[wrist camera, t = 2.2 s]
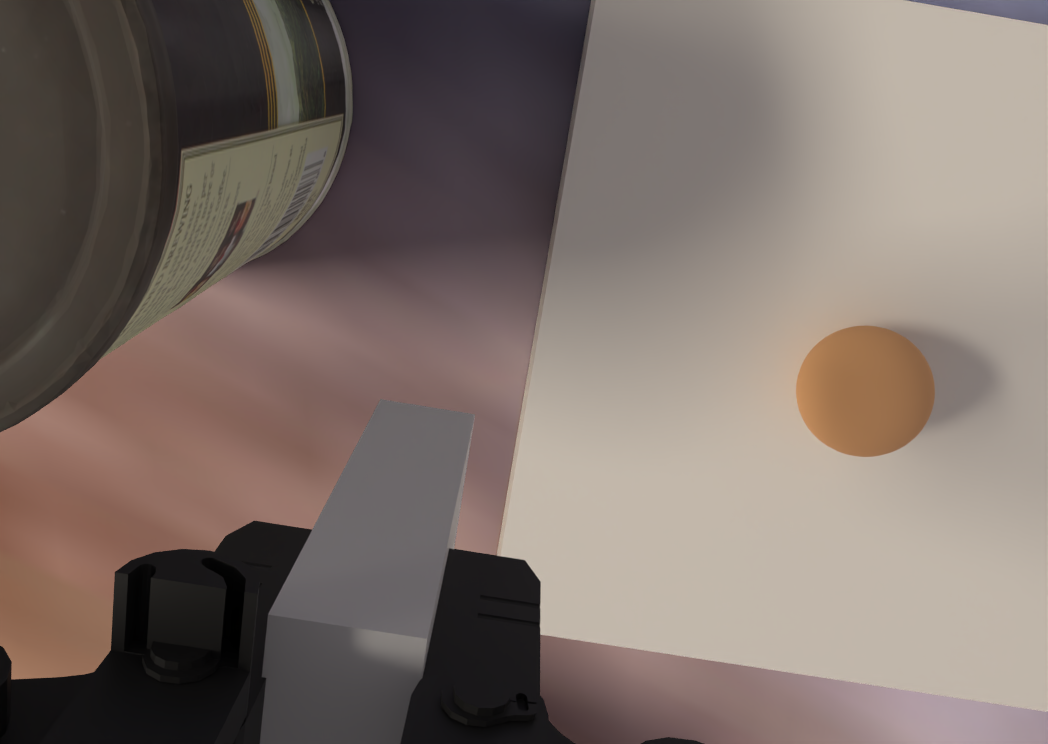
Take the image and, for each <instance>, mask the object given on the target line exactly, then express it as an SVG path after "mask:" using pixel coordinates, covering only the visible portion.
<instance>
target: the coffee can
mask: <svg viewBox="0 0 1048 744" xmlns="http://www.w3.org/2000/svg"><path fill="white" fill-rule="evenodd" d="M352 116H353V99H352V75H351V69H350V63H349V56H348V52H347V48H346V44H345V40H344V37H343V34H342V31H341V28H340V25H339V23H338V20H337V18H336V15H335V13H334V10H333V8H332V6H331V3H330V2H329V0H0V432H1V431H4V430H6V429H8V428H10V427H12V426H14V425H16V424H18V423H20V422H21V421H23V420H25V419H26V418H28V417H30V416H31V415H33V414H34V413H36V412H37V411H39V410H40V409H42V408H43V407H44V406H46V405H47V404H49V403H50V402H51V401H53V400H54V399H56V398H57V397H58V396H60V395H61V394H63V393H64V392H65V391H66V390H67V389H68V388H70V387H71V386H72V385H73V384H74V383H75V382H76V381H78V380H79V379H80V378H81V377H82V376H83V375H84V374H85V373H86V372H87V371H88V370H90V369H91V368H92V367H93V366H94V365H95V364H96V363H97V362H98V360H100V359H101V358H103V357H104V356H106V355H107V354H109V353H110V352H112V351H113V350H115V349H116V348H118V347H119V346H121V345H122V344H124V343H125V342H127V341H128V340H130V339H131V338H133V337H134V336H136V335H138V334H139V333H141V332H142V331H144V330H145V329H147V328H148V327H150V326H151V325H153V324H154V323H156V322H157V321H159V320H160V319H162V318H164V317H165V316H167V315H168V314H170V313H172V312H173V311H175V310H177V309H178V308H180V307H181V306H183V305H184V304H186V303H187V302H189V301H190V300H191V299H193V298H194V297H196V296H197V295H199V294H200V293H202V292H203V291H205V290H206V289H208V288H209V287H211V286H212V285H214V284H215V283H217V282H218V281H220V280H221V279H223V278H225V277H226V276H228V275H229V274H231V273H232V272H234V271H235V270H237V269H238V268H240V267H241V266H243V265H244V264H246V263H247V262H249V261H251V260H253V259H256V258H258V257H260V256H262V255H264V254H266V253H268V252H270V251H271V250H273V249H275V248H276V247H277V246H279V245H280V244H282V243H284V242H286V241H287V240H288V239H289V238H290V237H291V236H292V235H293V234H294V233H295V232H296V231H297V230H298V229H300V228H301V227H302V225H303V224H304V223H305V222H306V221H307V220H308V219H309V218H310V217H311V215H312V214H313V213H314V212H315V210H316V209H317V208H318V206H319V205H320V204H321V203H322V201H323V199H324V198H325V196H326V194H327V192H328V191H329V189H330V187H331V185H332V183H333V181H334V179H335V177H336V175H337V173H338V171H339V168H340V165H341V163H342V160H343V157H344V154H345V150H346V146H347V142H348V138H349V132H350V127H351V124H352Z"/></svg>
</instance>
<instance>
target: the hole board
mask: <svg viewBox="0 0 1048 744" xmlns="http://www.w3.org/2000/svg"><path fill="white" fill-rule="evenodd" d="M854 326H877V327H881V328H886V329H889V330H891V331H894V332H896V333H898V334H900V335H902V336H903V337H905V338H907V339H908V340H909V341H911V342H912V343H913V344H914V345H915V346H916V347H917V348H918V349H919V350H920V351H921V353H922V354H923V355H924V357H925V359H926V360H927V362H928V364H929V366H930V369H931V371H932V374H933V379H934V385H935V399H934V405H933V409H932V412H931V414H930V417H929V419H928V421H927V423H926V425H925V426H924V428H923V429H922V431H921V432H920V433H919V434H918V435H917V436H916V437H915V438H914V439H913V440H912V441H911V442H909V443H908V444H906V445H905V446H904V447H902V448H900V449H898V450H896V451H893V452H891V453H888V454H884V455H880V456H874V457H859V456H852V455H847V454H844V453H841V452H838V451H836V450H834V449H832V448H830V447H828V446H827V445H825V444H824V443H822V442H821V441H820V440H819V439H818V438H817V437H816V436H815V435H814V434H813V433H812V432H811V431H810V430H809V428H808V427H807V426H806V424H805V422H804V420H803V419H802V416H801V414H800V411H799V408H798V404H797V398H796V383H797V377H798V374H799V371H800V368H801V365H802V363H803V361H804V359H805V358H806V356H807V355H808V353H809V352H810V351H811V350H812V348H813V347H814V346H815V345H816V344H817V343H819V342H820V341H821V340H822V339H824V338H825V337H827V336H828V335H830V334H832V333H834V332H836V331H839V330H842V329H845V328H849V327H854ZM497 556H502V557H509V558H515V559H521V560H525V561H526V562H527V564H528V565H529V566H530V568H531V569H532V570H533V572H534V573H535V575H536V576H537V577H538V579H539V580H540V582H541V603H540V635H547V636H553V637H560V638H566V639H573V640H580V641H586V642H593V643H599V644H606V645H612V646H619V647H626V648H632V649H639V650H645V651H652V652H658V653H665V654H672V655H678V656H685V657H691V658H698V659H704V660H711V661H718V662H724V663H731V664H737V665H744V666H750V667H757V668H763V669H770V670H777V671H783V672H790V673H796V674H803V675H809V676H816V677H823V678H829V679H836V680H842V681H849V682H855V683H862V684H869V685H875V686H882V687H888V688H895V689H901V690H908V691H915V692H921V693H928V694H934V695H941V696H947V697H954V698H961V699H967V700H974V701H980V702H987V703H993V704H1000V705H1007V706H1013V707H1020V708H1026V709H1033V710H1039V711H1046V712H1048V25H1044V24H1039V23H1033V22H1027V21H1021V20H1015V19H1010V18H1004V17H998V16H992V15H987V14H981V13H975V12H969V11H963V10H958V9H952V8H946V7H940V6H935V5H929V4H923V3H917V2H911V1H906V0H591V5H590V11H589V16H588V22H587V28H586V34H585V40H584V46H583V52H582V57H581V63H580V69H579V75H578V81H577V87H576V93H575V99H574V104H573V110H572V116H571V122H570V128H569V134H568V140H567V146H566V151H565V157H564V163H563V169H562V175H561V181H560V187H559V193H558V198H557V204H556V210H555V216H554V222H553V228H552V234H551V239H550V245H549V251H548V257H547V263H546V269H545V275H544V281H543V286H542V292H541V298H540V304H539V310H538V316H537V322H536V328H535V333H534V339H533V345H532V351H531V357H530V363H529V369H528V374H527V380H526V386H525V392H524V398H523V404H522V410H521V416H520V421H519V427H518V433H517V439H516V445H515V451H514V457H513V463H512V468H511V474H510V480H509V486H508V492H507V498H506V504H505V510H504V515H503V521H502V527H501V533H500V539H499V545H498V551H497Z"/></svg>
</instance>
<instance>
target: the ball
mask: <svg viewBox="0 0 1048 744" xmlns="http://www.w3.org/2000/svg"><path fill="white" fill-rule="evenodd" d="M796 398H797V404H798V408H799V411H800V414H801V416H802V419H803V420H804V422H805V424H806V426H807V427H808V428H809V430H810V431H811V432H812V433H813V434H814V435H815V436H816V437H817V438H818V439H819V440H820V441H821V442H822V443H824V444H825V445H827V446H828V447H830V448H832V449H834V450H836V451H838V452H841V453H844V454H847V455H852V456H859V457H874V456H880V455H884V454H888V453H891V452H893V451H896V450H898V449H900V448H902V447H904V446H905V445H906V444H908V443H909V442H911V441H912V440H913V439H914V438H915V437H916V436H917V435H918V434H919V433H920V432H921V431H922V429H923V428H924V426H925V425H926V423H927V421H928V419H929V417H930V414H931V412H932V409H933V405H934V399H935V385H934V379H933V374H932V371H931V369H930V366H929V364H928V362H927V360H926V359H925V357H924V355H923V354H922V353H921V351H920V350H919V349H918V348H917V347H916V346H915V345H914V344H913V343H912V342H911V341H909V340H908V339H907V338H905V337H903V336H902V335H900V334H898V333H896V332H894V331H891V330H889V329H886V328H881V327H877V326H854V327H849V328H845V329H842V330H839V331H836V332H834V333H832V334H830V335H828V336H827V337H825V338H824V339H822V340H821V341H820V342H819V343H817V344H816V345H815V346H814V347H813V348H812V350H811V351H810V352H809V353H808V355H807V356H806V358H805V359H804V361H803V363H802V365H801V368H800V371H799V374H798V377H797V383H796Z"/></svg>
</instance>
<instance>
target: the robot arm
mask: <svg viewBox="0 0 1048 744" xmlns="http://www.w3.org/2000/svg"><path fill="white" fill-rule="evenodd" d="M474 418H475V414H469V413H463V412H456V411H450V410H444V409H438V408H431V407H425V406H419V405H413V404H406V403H400V402H394V401H388V400H380V401H379V403H378V405H377V407H376V409H375V411H374V413H373V415H372V417H371V419H370V421H369V422H368V424H367V426H366V428H365V430H364V432H363V434H362V436H361V438H360V440H359V442H358V443H357V445H356V447H355V449H354V451H353V453H352V455H351V457H350V459H349V461H348V463H347V465H346V466H345V468H344V470H343V472H342V474H341V476H340V478H339V480H338V482H337V484H336V486H335V487H334V489H333V491H332V493H331V495H330V497H329V499H328V501H327V503H326V505H325V507H324V508H323V510H322V512H321V514H320V516H319V518H318V520H317V522H316V524H315V526H314V528H313V529H312V530H310V529H304V528H298V527H291V526H285V525H278V524H272V523H265V522H259V521H253V522H251V523H249V524H247V525H245V526H244V527H242V528H240V529H238V530H236V531H234V532H232V533H230V534H228V535H227V536H225V538H224V539H223V541H222V542H221V543H220V545H219V546H218V548H217V549H216V551H215V552H213V551H205V550H189V549H179V550H171V551H163V552H155V553H152V554H149V555H146V556H143V557H140V558H137V559H134V560H131V561H130V562H128V563H127V564H126V565H124V566H123V567H122V568H120V569H119V570H117V571H116V572H115V582H114V602H113V621H112V641H111V651H110V652H109V654H108V655H107V656H106V658H105V659H104V660H103V661H102V663H101V664H100V665H99V667H98V668H97V669H96V671H95V672H93V673H89V674H85V675H76V676H68V677H57V678H36V679H16V680H11V660H10V658H9V657H8V655H7V653H6V651H5V650H4V648H3V647H1V646H0V744H575V743H573V742H572V741H570V740H569V739H568V738H566V737H565V736H563V735H562V734H561V733H560V732H559V731H558V730H557V729H556V728H555V727H554V726H553V725H552V724H551V723H550V722H549V720H548V713H547V710H546V706H545V703H544V700H543V698H542V697H541V696H540V603H541V582H540V580H539V579H538V577H537V576H536V575H535V573H534V572H533V570H532V569H531V568H530V566H529V565H528V564H527V562H526V561H525V560H521V559H515V558H509V557H502V556H496V555H489V554H483V553H477V552H470V551H464V550H457V549H454V546H455V539H456V533H457V526H458V520H459V514H460V507H461V501H462V494H463V488H464V482H465V475H466V469H467V462H468V456H469V450H470V443H471V437H472V430H473V424H474ZM641 744H703V743H700V742H697V741H694V740H686V739H678V738H670V737H668V738H661V739H655V740H648V741H645V742H643V743H641Z"/></svg>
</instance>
